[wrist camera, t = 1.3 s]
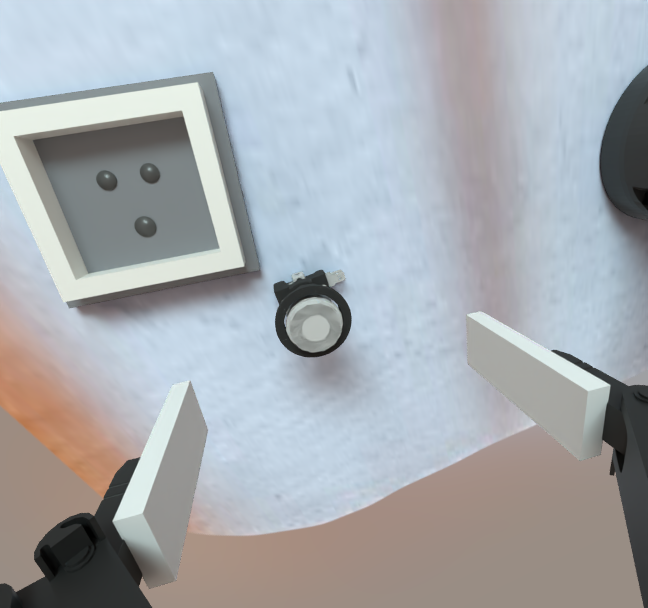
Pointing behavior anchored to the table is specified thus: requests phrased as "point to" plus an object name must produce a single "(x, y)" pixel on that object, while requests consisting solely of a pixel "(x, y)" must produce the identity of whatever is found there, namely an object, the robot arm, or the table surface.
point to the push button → (312, 314)
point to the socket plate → (128, 187)
